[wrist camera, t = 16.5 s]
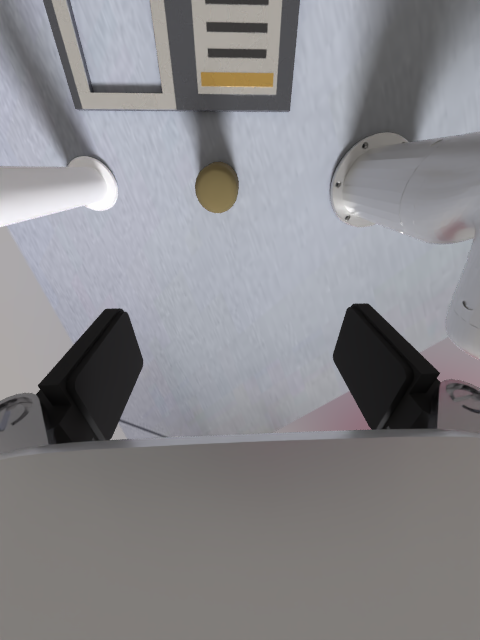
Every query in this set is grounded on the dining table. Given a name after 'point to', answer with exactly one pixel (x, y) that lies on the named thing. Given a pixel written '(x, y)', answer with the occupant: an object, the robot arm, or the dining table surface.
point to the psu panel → (198, 56)
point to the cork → (217, 187)
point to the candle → (55, 189)
